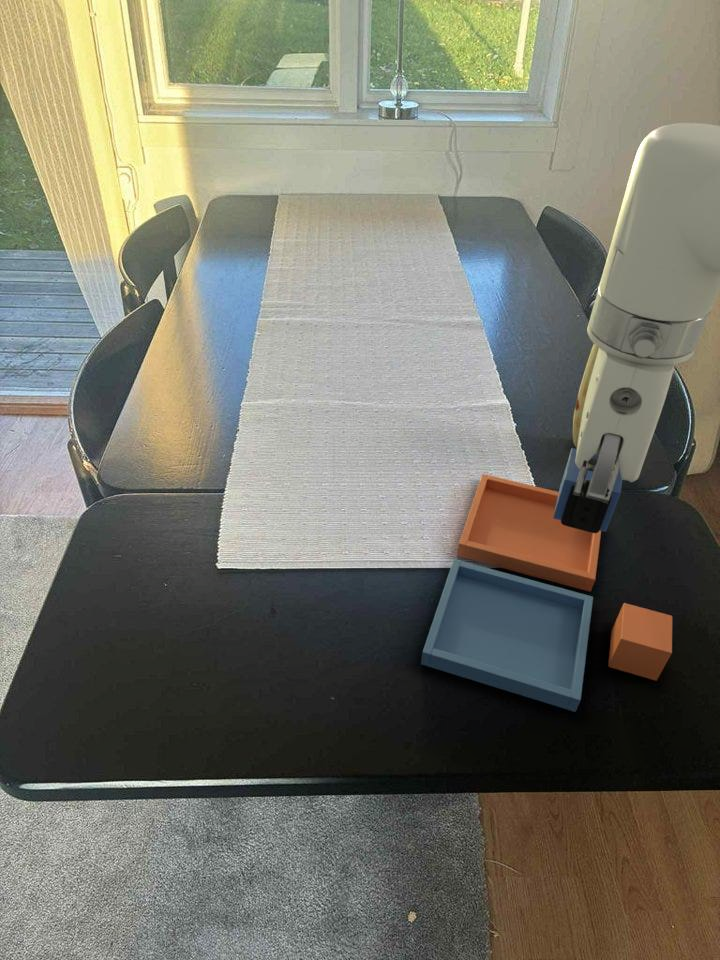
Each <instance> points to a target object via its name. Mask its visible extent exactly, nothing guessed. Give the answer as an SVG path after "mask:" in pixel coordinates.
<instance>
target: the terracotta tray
mask: <svg viewBox="0 0 720 960" xmlns="http://www.w3.org/2000/svg"><path fill="white" fill-rule="evenodd" d="M558 494H559V491H556V490H552V489H549V488H543V487H540V486H535V485H531V484H527V483H523V482H518V481H514V480H510V479H507V478H503V477H498V476H494V475H490V474H486V473H482V474H481V477H480V479H479V481H478V485H477V488H476V491H475V494H474V498H473V500H472V504H471V506H470V508H469V511H468V514H467V518H466V520H465V524H464V527H463V530H462V533H461V536H460V538H459V542H458V546H457V550H456V551H457V553H456V556H457V557H459V558H464V559H467V560H470V561H474V562H477V563H482V564H485V565H489V566H492V567H497V568H499V569H504V570H508V571H511V572H516V573H518V574H522V575H526V576H530V577H533V578H538V579H542V580H545V581H549V582H552V583H556V584H560V585H564V586H567V587H570V588H575V589H579V590H582V591H586V592H589V593H590V592H592V589H593V587H594V584H595V582H596V577H597V568H598V563H599V561H598V560H599V553H600V544H601V535H602V531H599V532H598V533H591V532H587V531H583V530H580V529H576V528H572V527H568V526H565V525H563V524H562V523H561V520H558V519H554V518H553V516H554V511H555V507H556V503H557V498H558Z"/></svg>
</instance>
